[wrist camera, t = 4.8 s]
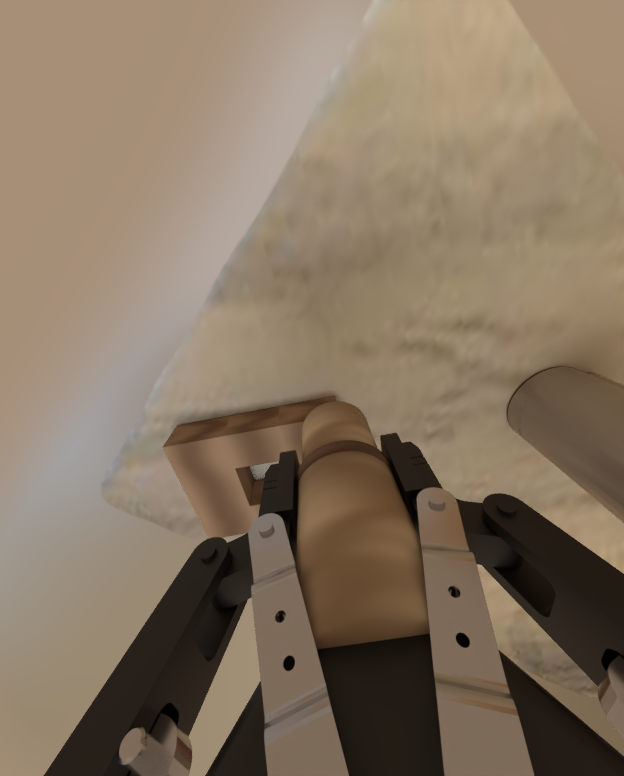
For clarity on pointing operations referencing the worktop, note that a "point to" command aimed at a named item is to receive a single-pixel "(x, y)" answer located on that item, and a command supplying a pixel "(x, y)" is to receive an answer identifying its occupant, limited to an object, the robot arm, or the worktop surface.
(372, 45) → the worktop surface
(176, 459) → the wooden board with hole
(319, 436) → the beech peg
